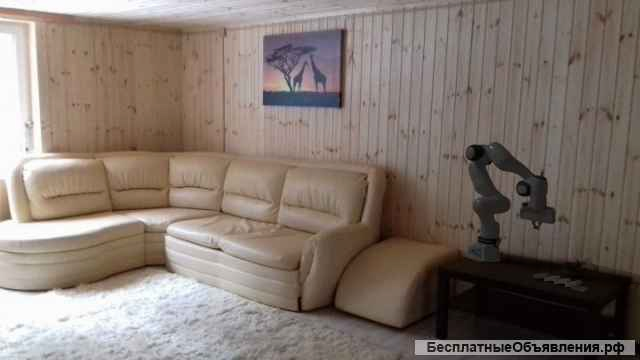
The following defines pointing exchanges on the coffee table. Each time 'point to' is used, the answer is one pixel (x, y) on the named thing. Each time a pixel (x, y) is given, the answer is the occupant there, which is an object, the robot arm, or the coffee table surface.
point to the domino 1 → (541, 275)
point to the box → (571, 269)
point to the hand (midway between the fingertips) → (536, 229)
